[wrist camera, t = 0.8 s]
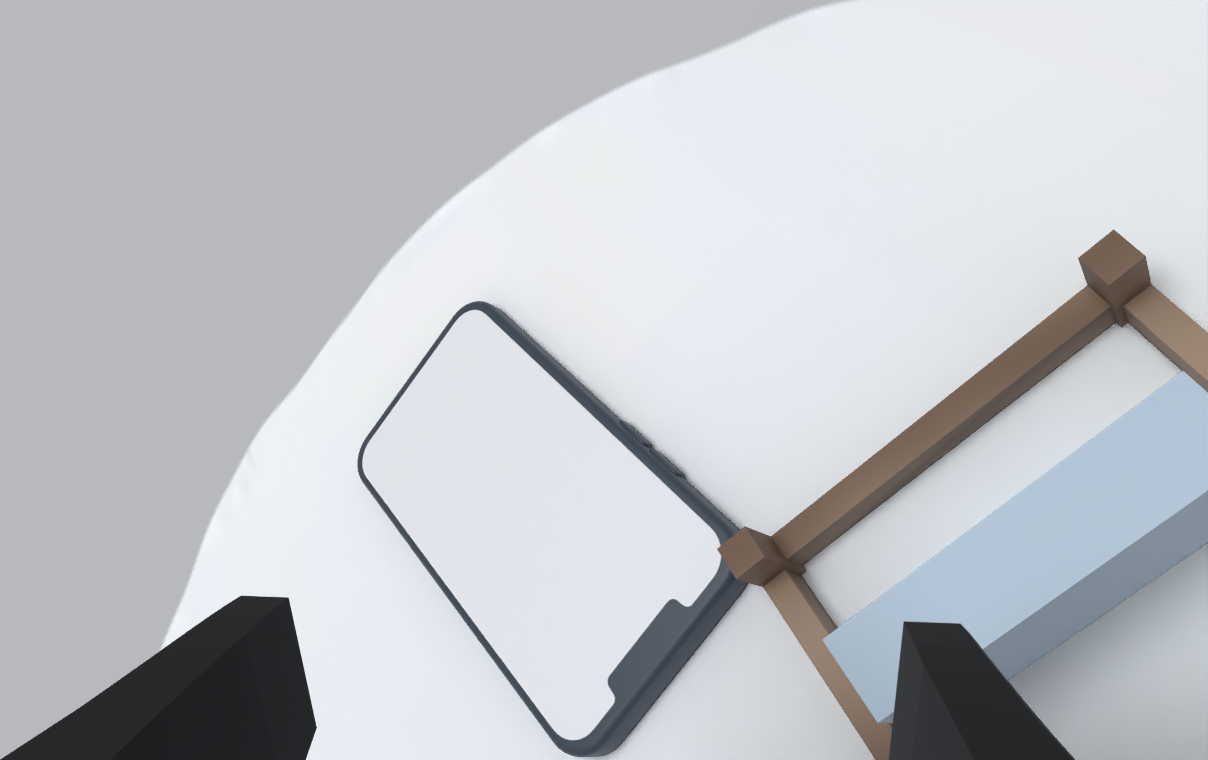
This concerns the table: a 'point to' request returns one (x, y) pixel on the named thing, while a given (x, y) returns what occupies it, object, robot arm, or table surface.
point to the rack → (779, 559)
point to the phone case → (549, 528)
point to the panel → (1052, 548)
